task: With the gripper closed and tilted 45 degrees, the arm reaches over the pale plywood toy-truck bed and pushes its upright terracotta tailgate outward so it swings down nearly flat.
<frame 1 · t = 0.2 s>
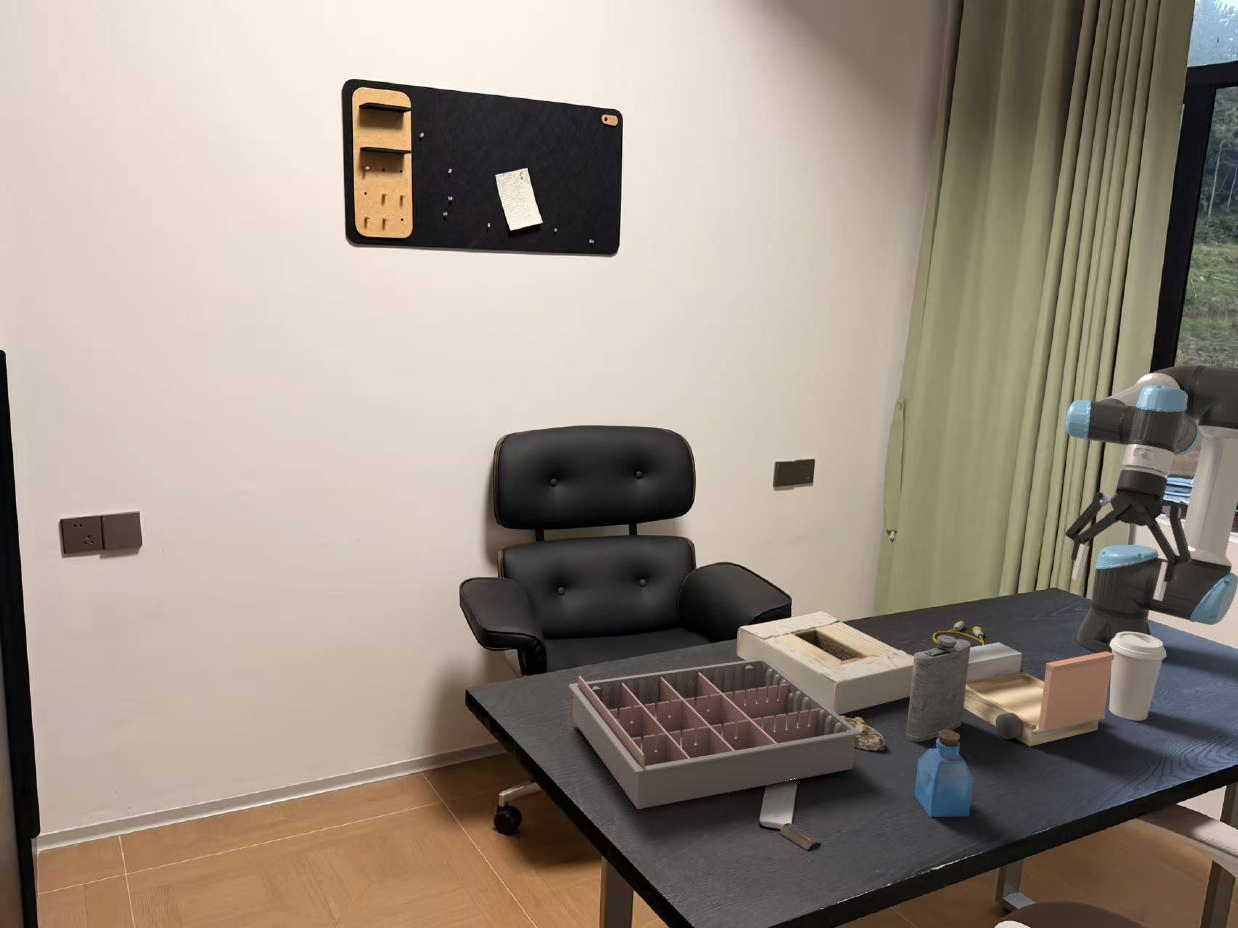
hand: (1115, 589, 171), 28 cm above the table, tool tilted 20°, fingers open, 13 cm apart
tailgate: (1075, 693, 173), point 9 cm above the table, hinge at 0.0°
block: (799, 841, 143), on the table
mineral rock: (858, 741, 173), on the table
box: (826, 676, 200), on the table
flask: (936, 731, 177), on the table
organizer tray: (706, 751, 168), on the table
extension cord: (961, 642, 221), on the table
truck bed: (1025, 716, 184), on the table
coffee cup: (1127, 713, 187), on the table
perfume bottle: (941, 806, 153), on the table
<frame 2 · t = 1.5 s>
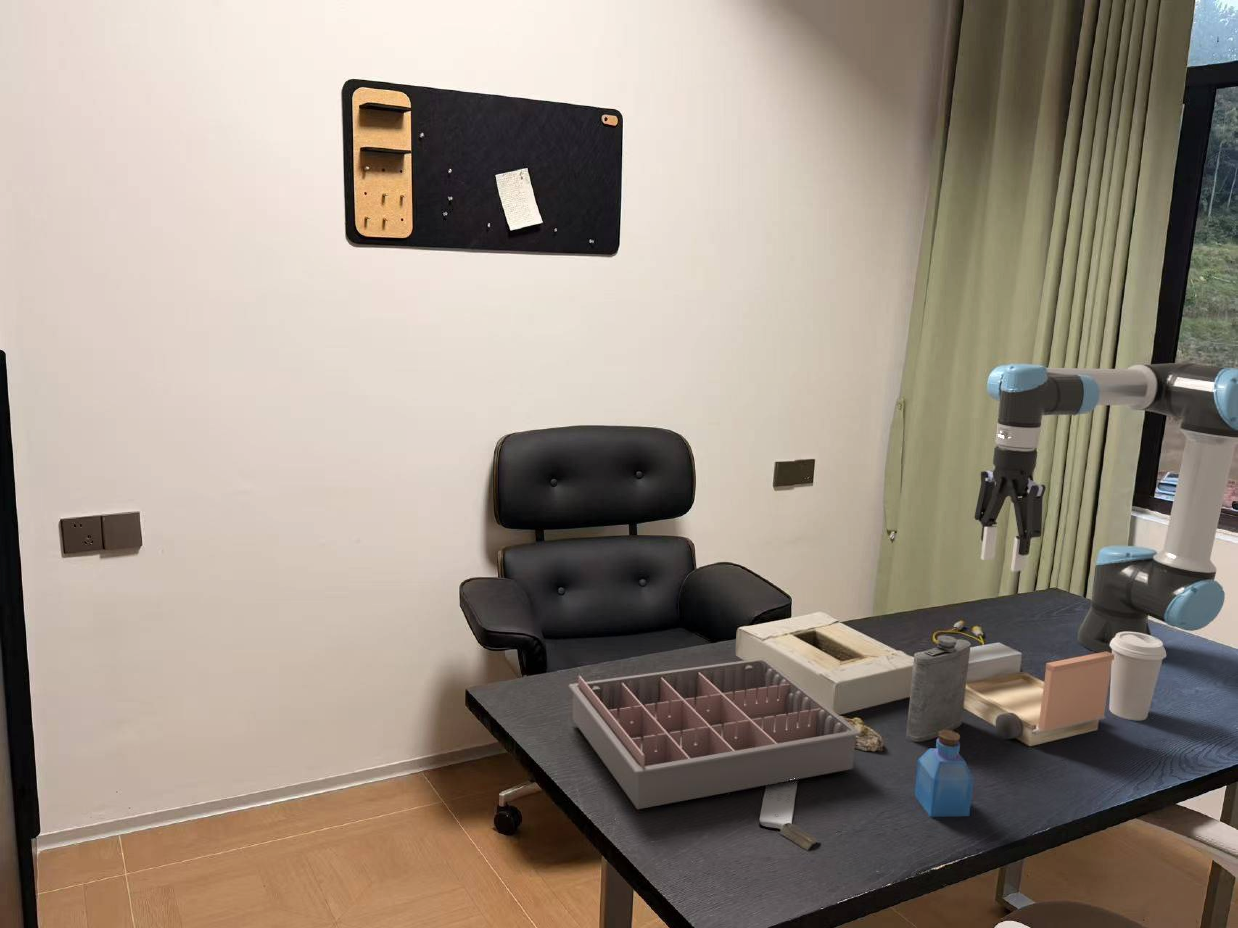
hand: (1002, 564, 187), 27 cm above the table, tool pointing down, fingers open, 7 cm apart
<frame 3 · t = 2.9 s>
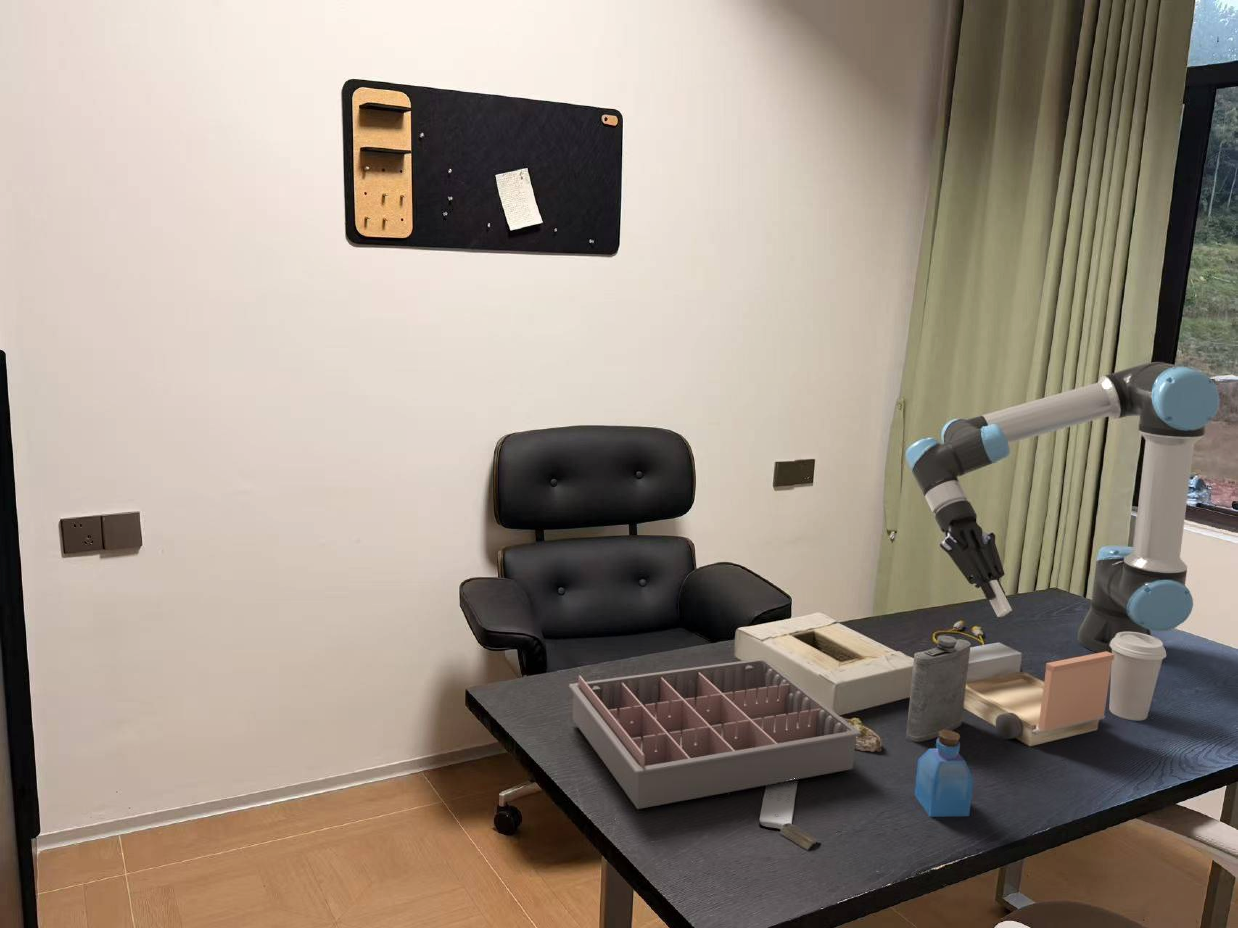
hand: (1004, 613, 187), 18 cm above the table, tool tilted 45°, fingers closed
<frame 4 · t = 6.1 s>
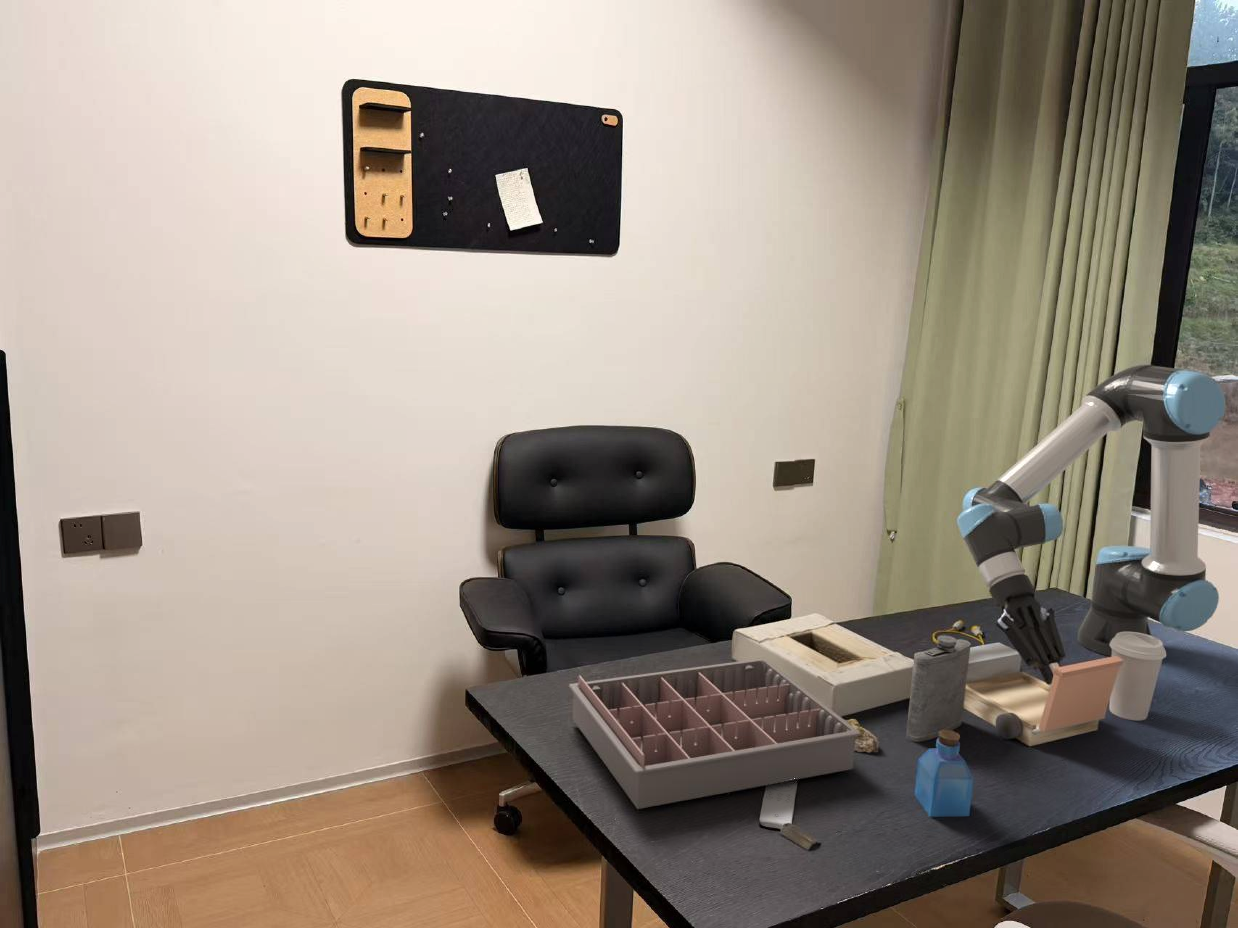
hand: (1066, 699, 174), 8 cm above the table, tool tilted 45°, fingers closed
tailgate: (1079, 696, 172), point 9 cm above the table, hinge at 8.7°, touching gripper
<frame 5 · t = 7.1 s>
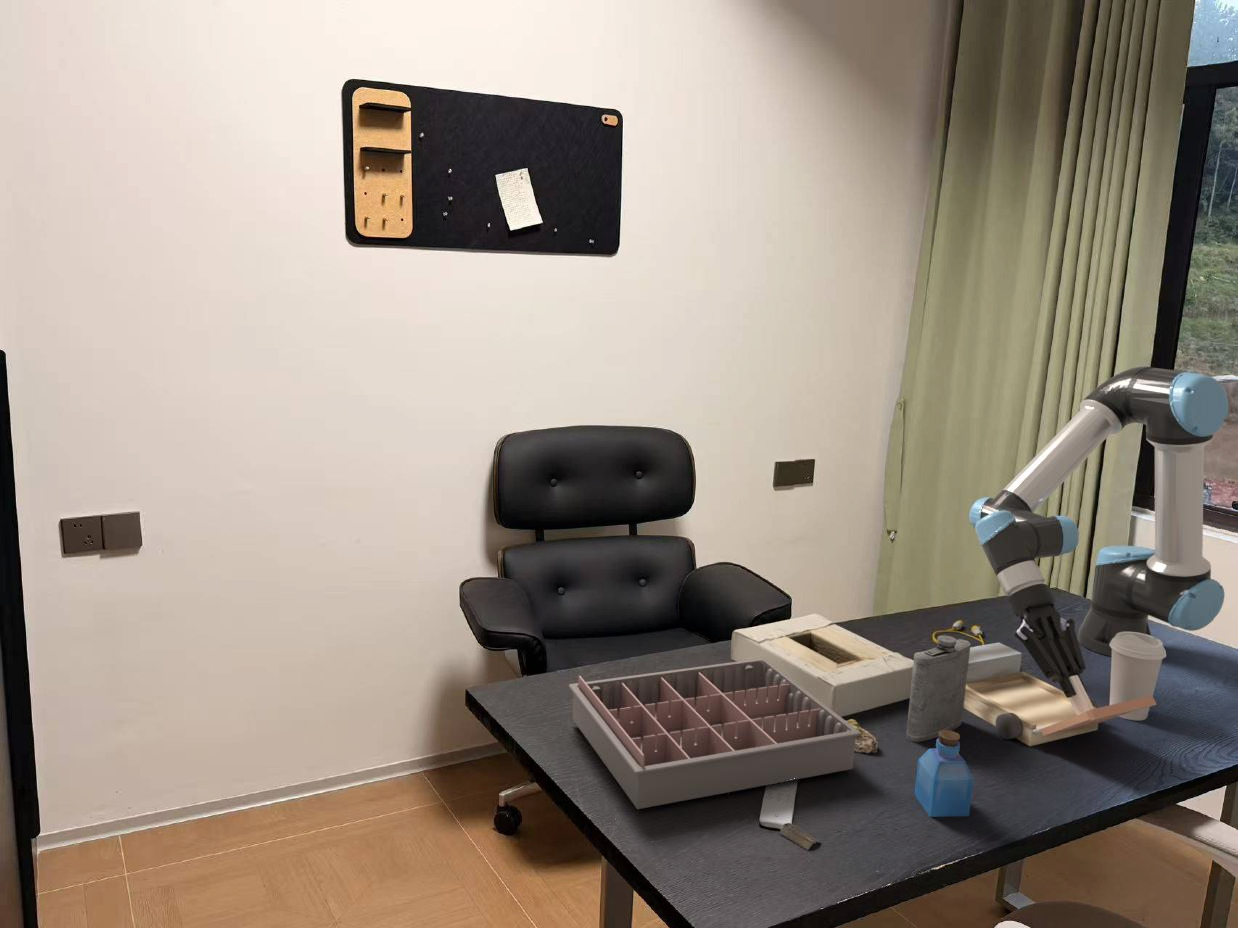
hand: (1086, 713, 170), 7 cm above the table, tool tilted 45°, fingers closed
tailgate: (1095, 717, 169), point 7 cm above the table, hinge at 49.7°, touching gripper
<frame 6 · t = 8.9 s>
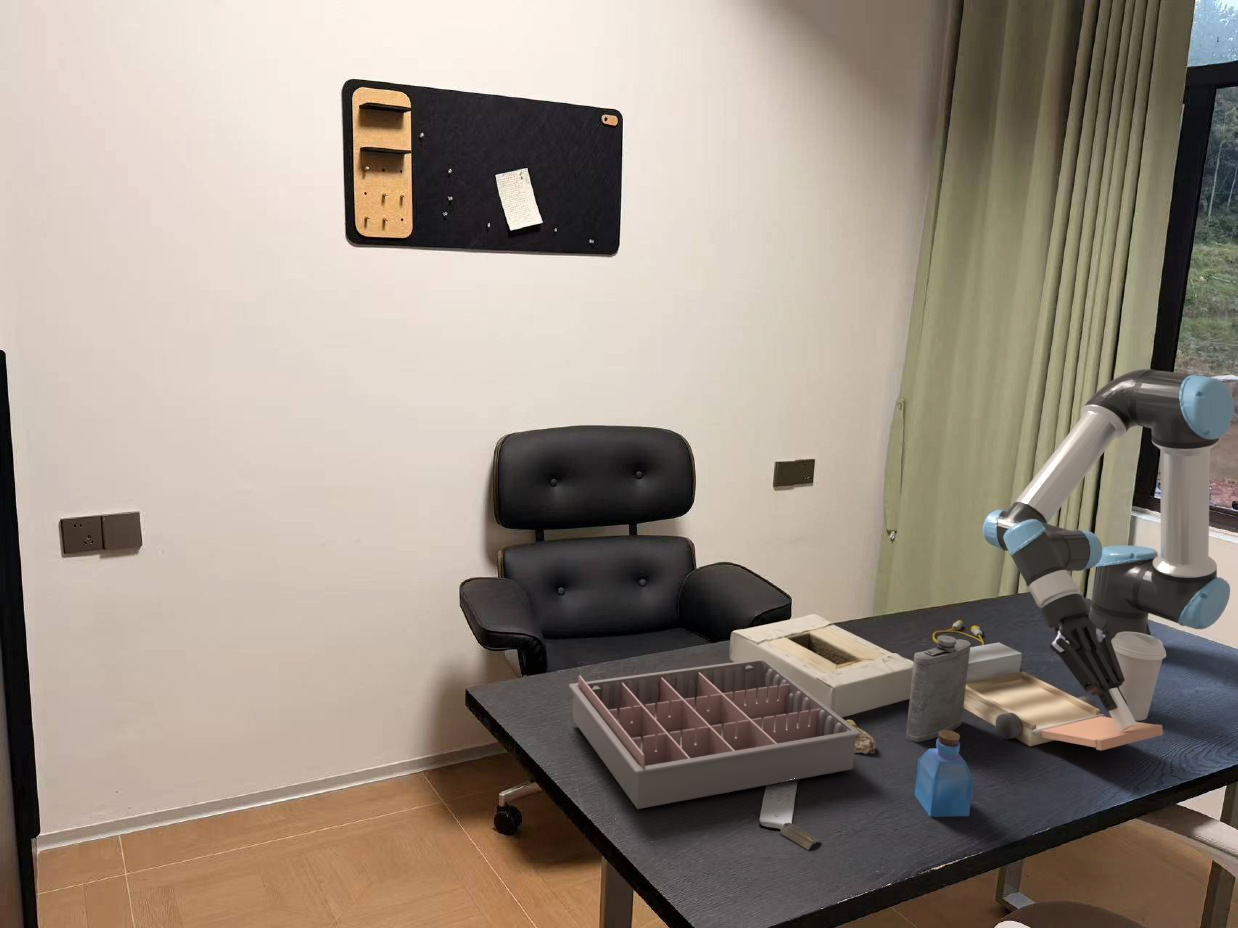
hand: (1127, 727, 164), 8 cm above the table, tool tilted 45°, fingers closed
tailgate: (1098, 731, 169), point 4 cm above the table, hinge at 72.4°, touching gripper
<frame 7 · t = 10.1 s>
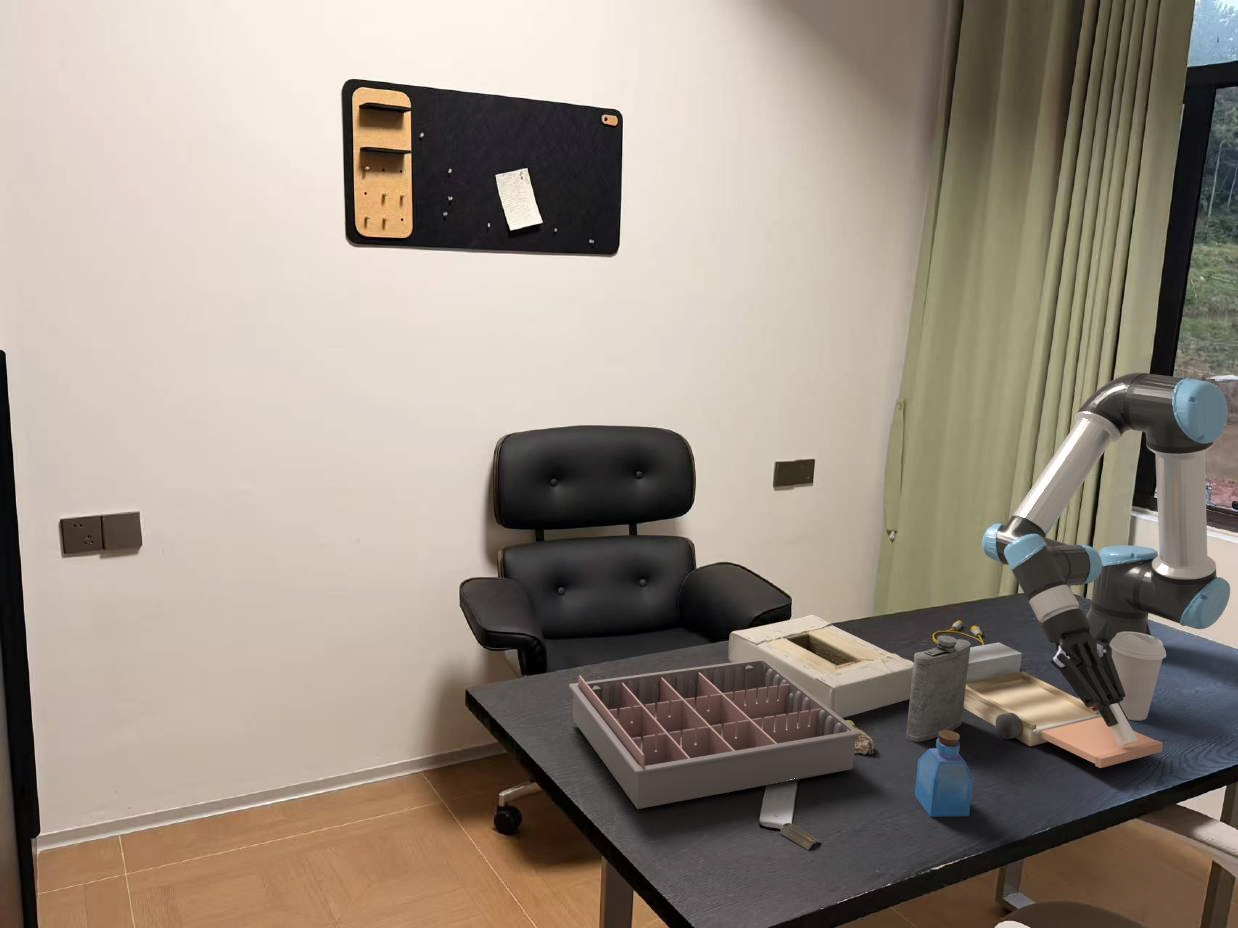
hand: (1128, 743, 164), 5 cm above the table, tool tilted 45°, fingers closed
tailgate: (1098, 739, 169), point 3 cm above the table, hinge at 86.1°, touching gripper
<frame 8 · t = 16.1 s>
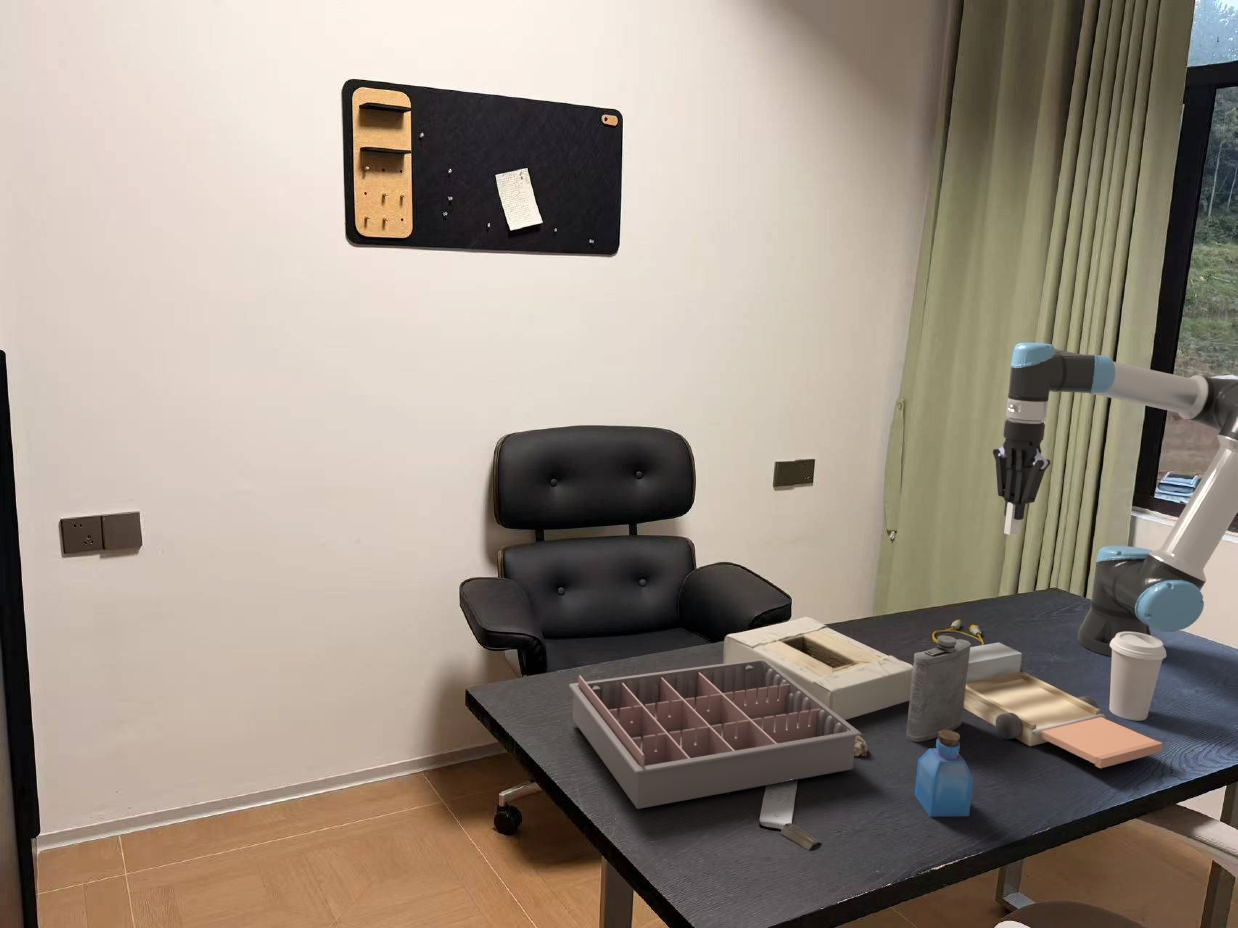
hand: (1011, 533, 200), 29 cm above the table, tool pointing down, fingers closed
tailgate: (1098, 739, 169), point 3 cm above the table, hinge at 86.4°
mineral rock: (841, 746, 171), on the table
box: (815, 683, 197), on the table
everything else where it was.
at the end: tailgate at +86° (first picture: +0°) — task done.
